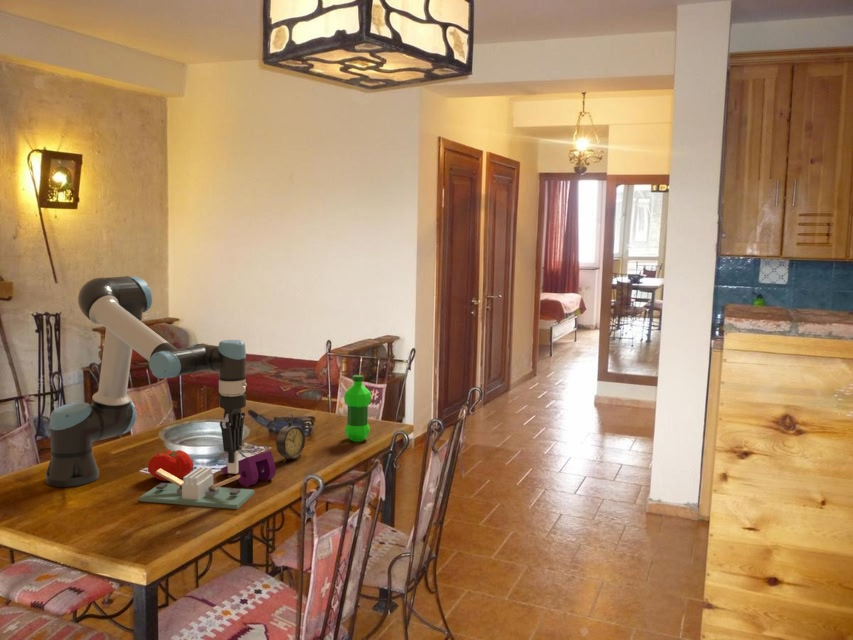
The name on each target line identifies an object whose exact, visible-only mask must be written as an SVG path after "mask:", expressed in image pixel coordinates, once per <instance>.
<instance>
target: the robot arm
mask: <svg viewBox="0 0 853 640" xmlns="http://www.w3.org/2000/svg"><path fill="white" fill-rule="evenodd" d="M77 301H78V302H77V303H78V306H79V309H80V312H81V313H82V314H83V315H84V316H85V317H86V318H87V319H88V320H90V321H91V322H92V323H94V324H96V325H101V326H103V327H104V328H105V335H104V342H103V349H102V356H101V357H102V358H101V366H100V376H99V382H98V390H97V392H95V393H94V394H93V395H92V399H91V404H90V403H88V402H82V401H81V402H78V401H77V402H75V403H74V402H73V403H67V404H63V405H60V406H58V407H56V408H54V409H53V410H52V411H51V413H50V417H49V419H50V420H49V425H48V426H49V429H50V452H51V453H50V454H51V455H50V456H51V458H50V460H49V464H48V466H47V470H46V473H45V484H46V485H48V486H51V487H57V488H68V487H70V488H71V487H77V486H82V485H87V484H91V483H93V482H95V481H97V480H98V479H99V477H100V470H99V467H98V465H97V462H96V459H95V457H94V454H93V442H97V441H102V440H105V439H110V438H113V437H115V438H116V437H119V436H121V435H124V434H126V433H128V432H130V431H131V430H132V429H133V427H134V426H135V424H136V421H137V409H135V408H136V406H135V404H134V402H133V401H132V400H131V397H130V395H128V387H129V386H128V385H129V377H130V370H131V363H132V355H133V351H135V352H136V353H138V354H139V355H140V356H141V357H142V358H144V359H145V360H147V362H148V365H149V366H148V367H149V370H150V371H151V373H152V375H153V376H154V377H155V378H157V379H161V380H162V379H173V378H175V377H180V376H184V375H189V374H190V375H191V374H194V373H196V374H197V373H201V372H205V371H206V372H207V371H210V372H217V373H218V393H219V395H218V406H219V408H221V409H223V410H224V413H223V421H220V422H219V427H220V429H221V438H222V439H221V440H222V446H223V452H225V453H227V466H228V474H235V475H236V474H237V473H238V472H239V467H238V461H239V451H242V450H243V448H242V447H241V446H243V445H242V444H243V433H244V423H245V422H244V421H245V417H246V412H242V409H244V408H245V407H246V405H247V395H246V393H245V392H246V390H247V389H246V387H247V386H248V383H246V382H247V381H246V377H247V376H246V373H247V372H246V371H247V370H246V368H247V367H246V364H247V363H246V362H247V353H246V345H245V342H244V341H242V340H240V339H239V340H238V339H224V340H221V341H220V342H218V345H213V344H207V343H193V344H191V345H189V346H188V347H184V348H177V347H175V346H174V345H173V344H171V343H170V342H168V341H167V340H166V339H165V338H163V337H162V336H161V335H159V334H158V333H156V332H155V331H154V330H153V329H152V328H150V327H149V326H147V325H146V324H145V323H143V322H142V318H143V313H146V312H147V311H149V309H151V306H152V304H153V293H152V290H151V288H150V287H149V284H148V283H147V282H146V280H144V279H143V278H140V277H139V276H129V275H125V276H112V277H111V276H110V277H95V278H92V279H90V280H89V281H87V282H86V283H84V284H83V285H82V286H81V288H80V290H79V292H78V297H77Z"/></svg>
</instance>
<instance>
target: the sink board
mask: <svg viewBox="0 0 853 640" xmlns="http://www.w3.org/2000/svg"><path fill="white" fill-rule="evenodd" d="M212 469H213V468H212V467H208V468H207V467H202V466H198V467H197V468H195V469H194V470H192V471H191V472H190V473H189V474H188V475H186V476H185V477H183V478H182V481H184V483H183V484H182V488H180V487H179V486H178V485H176V484H174V483H172V482H159V484H157V485H156V486H154V487H152V489H150V490H148V491H147V492H145V493H144V494H141V496H139V498H138V499H139V500H138V501H139V502H144V503H145V502H146V503H159V504H170V505H171V504H172V505H183V506H194V507H206V508H219V509H220V508H221V509H231V510H238V509H239V508H240V507H242V505H244V504H245V503H246V502H247V501H248V500H250V498H251V497H253V496H254V495H255V489H250V488H239V487H238V488H237V487H234V488H233V487H223V486H220V487H217V488H215V489H213V490H212V491H210V490H209V489H208V488H209V487H210V486H211V485H213V484H214V473H213V471H212ZM212 473H213V474H212Z"/></svg>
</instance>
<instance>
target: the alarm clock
mask: <svg viewBox="0 0 853 640" xmlns="http://www.w3.org/2000/svg"><path fill="white" fill-rule="evenodd" d="M289 416H291V421H288V419H289ZM293 421H294V416H293V414H292V413H290V414H288V415H287V416H286V423H287V424H288V425H286V426H284V427H282V428H281V429H280V430H279V432H278V434H277V436H276V440H275V443H276V444H275V445H276V446H275V447H276V450H277V452H278V454H279V455H280V456H281V457H284V459H283V463H284V464H286V460H287V459H288V458H290V459H295V458H297V457H302V455H301V454H302V452H303V450H304V447H305V444H306V437H305V436H306V435H305V433H304V430H303V429H302V428H301V427H300V426H298V425H296V426H295V425H292V422H293Z"/></svg>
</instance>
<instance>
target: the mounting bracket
mask: <svg viewBox="0 0 853 640" xmlns="http://www.w3.org/2000/svg"><path fill="white" fill-rule="evenodd" d="M238 467H239V472H238V473H237V474H235V476H237V475H239V474H240V476H241V477H240V478H239V479H237V481H238V483H239V484H240V485H241V486H245V487H247V488H248V487H250V486H253V485H255V484H257V482H258V480H260V481H262V482H263V481H264V482H266V481H270V480H272V479H273V478H274V477H275V475H276V472H277V467H276V464H275V460H274V457H273V453H272V450H269V451H265V452H261V453H257V454H255V455H251V456H248V457H245V458H242V459H240V460H238ZM220 471H221V474H222V475H223V476H224V475H228V474H229V473H228V465H226V466H223V467H221V468H220Z"/></svg>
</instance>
